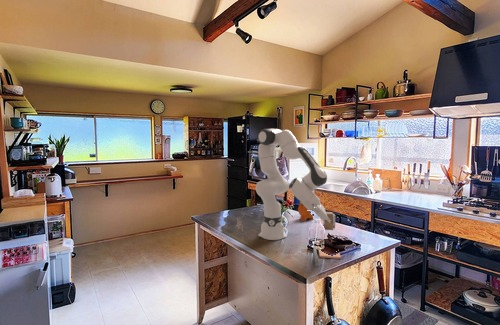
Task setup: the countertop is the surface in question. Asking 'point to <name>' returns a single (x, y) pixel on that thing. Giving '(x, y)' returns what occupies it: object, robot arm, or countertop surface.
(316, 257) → the acrylic wall
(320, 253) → the pad
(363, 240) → the countertop surface
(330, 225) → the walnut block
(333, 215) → the medicine box
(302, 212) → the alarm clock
